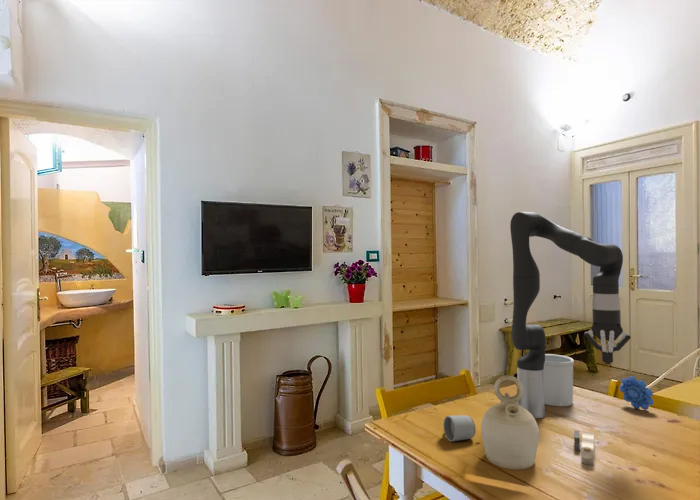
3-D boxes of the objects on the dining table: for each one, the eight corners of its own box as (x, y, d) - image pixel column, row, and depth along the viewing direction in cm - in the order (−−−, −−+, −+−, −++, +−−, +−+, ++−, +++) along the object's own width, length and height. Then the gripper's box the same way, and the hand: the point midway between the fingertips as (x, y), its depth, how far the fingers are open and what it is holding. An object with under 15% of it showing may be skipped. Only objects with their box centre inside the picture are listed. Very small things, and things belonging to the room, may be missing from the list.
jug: (534, 482, 113) (532, 385, 113) (475, 468, 121) (473, 377, 122) (543, 459, 126) (541, 372, 126) (489, 447, 134) (487, 366, 135)
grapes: (614, 406, 168) (614, 375, 169) (622, 403, 172) (621, 372, 173) (649, 415, 159) (648, 382, 159) (656, 411, 163) (655, 379, 163)
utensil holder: (576, 398, 179) (575, 355, 179) (573, 409, 166) (572, 363, 166) (537, 393, 186) (536, 352, 187) (532, 403, 174) (531, 359, 174)
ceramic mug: (477, 441, 138) (477, 417, 139) (455, 445, 136) (454, 420, 136) (459, 430, 148) (459, 407, 149) (438, 433, 146) (437, 410, 146)
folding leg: (593, 466, 118) (593, 451, 118) (581, 463, 120) (580, 449, 120) (594, 444, 132) (593, 431, 132) (583, 442, 133) (582, 429, 133)
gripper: (582, 308, 135) (583, 364, 135) (632, 310, 129) (634, 368, 129) (581, 305, 142) (583, 359, 141) (629, 307, 136) (631, 363, 135)
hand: (607, 363), depth 135 cm, fingers closed
